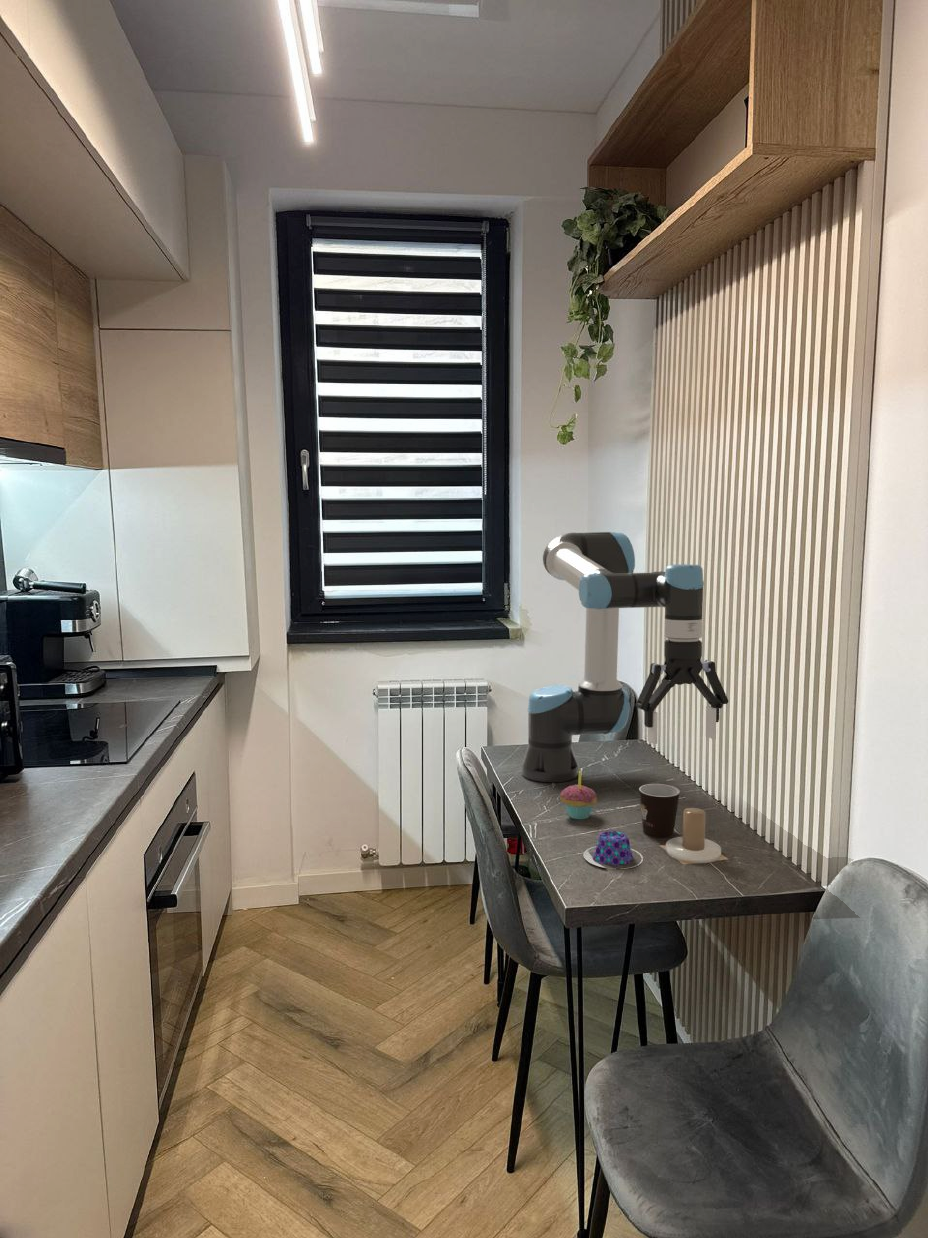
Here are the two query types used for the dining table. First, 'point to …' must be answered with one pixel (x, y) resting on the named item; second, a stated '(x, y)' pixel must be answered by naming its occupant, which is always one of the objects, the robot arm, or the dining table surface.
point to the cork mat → (693, 863)
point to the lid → (693, 840)
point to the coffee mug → (658, 809)
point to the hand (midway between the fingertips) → (681, 740)
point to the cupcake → (578, 800)
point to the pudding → (611, 850)
